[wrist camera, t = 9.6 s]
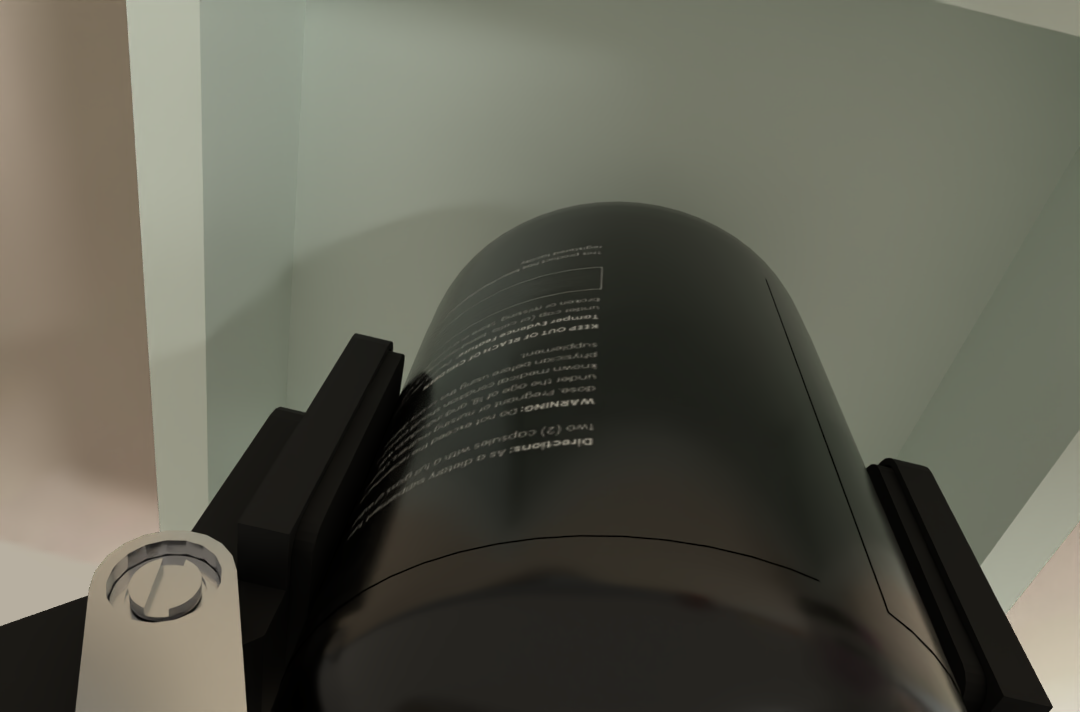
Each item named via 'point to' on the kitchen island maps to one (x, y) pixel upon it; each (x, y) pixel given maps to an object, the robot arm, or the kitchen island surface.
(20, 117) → the kitchen island surface
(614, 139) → the bin
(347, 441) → the robot arm
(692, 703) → the supplement bottle
